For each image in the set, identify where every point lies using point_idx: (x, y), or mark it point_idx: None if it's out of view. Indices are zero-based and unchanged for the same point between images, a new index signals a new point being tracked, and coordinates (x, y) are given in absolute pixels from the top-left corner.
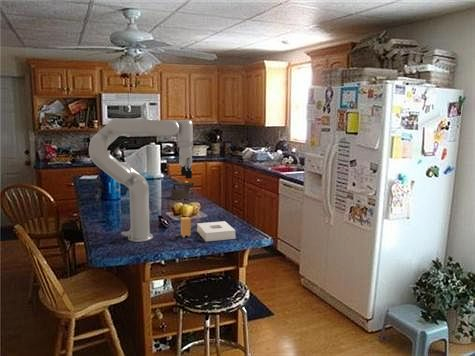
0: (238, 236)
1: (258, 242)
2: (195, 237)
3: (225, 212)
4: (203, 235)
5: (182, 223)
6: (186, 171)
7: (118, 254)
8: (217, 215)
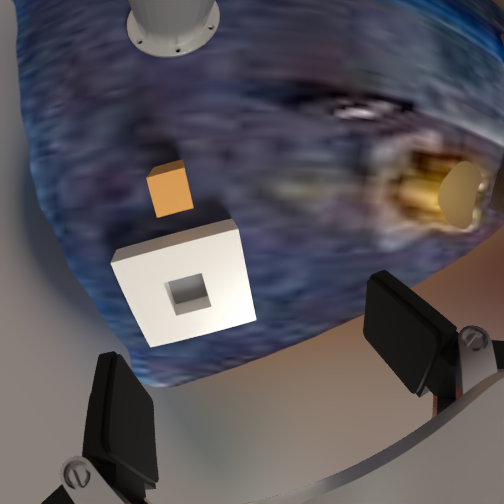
0: None
1: None
2: None
3: None
4: (142, 246)
5: (148, 175)
6: (94, 449)
7: (38, 8)
8: None
